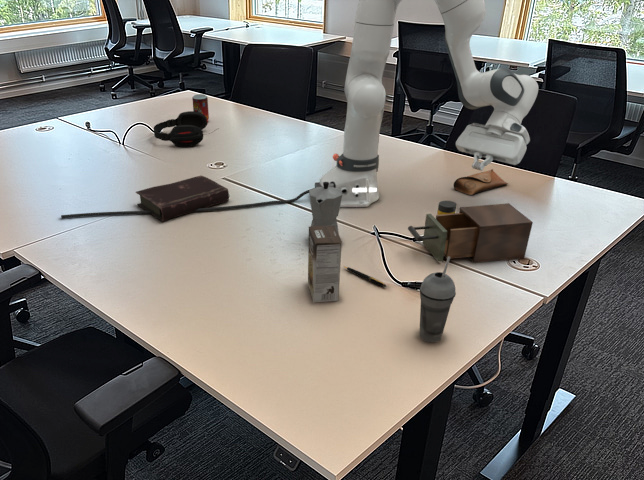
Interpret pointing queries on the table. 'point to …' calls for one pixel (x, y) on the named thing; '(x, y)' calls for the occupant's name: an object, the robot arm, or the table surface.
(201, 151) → the table surface
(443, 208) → the yellow jar
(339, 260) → the coffee box
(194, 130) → the headset
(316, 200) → the coffeepot
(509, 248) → the cabinet
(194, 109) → the soda can
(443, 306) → the beverage cup
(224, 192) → the diary
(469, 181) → the sunglasses case
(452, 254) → the drawer
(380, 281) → the fountain pen
